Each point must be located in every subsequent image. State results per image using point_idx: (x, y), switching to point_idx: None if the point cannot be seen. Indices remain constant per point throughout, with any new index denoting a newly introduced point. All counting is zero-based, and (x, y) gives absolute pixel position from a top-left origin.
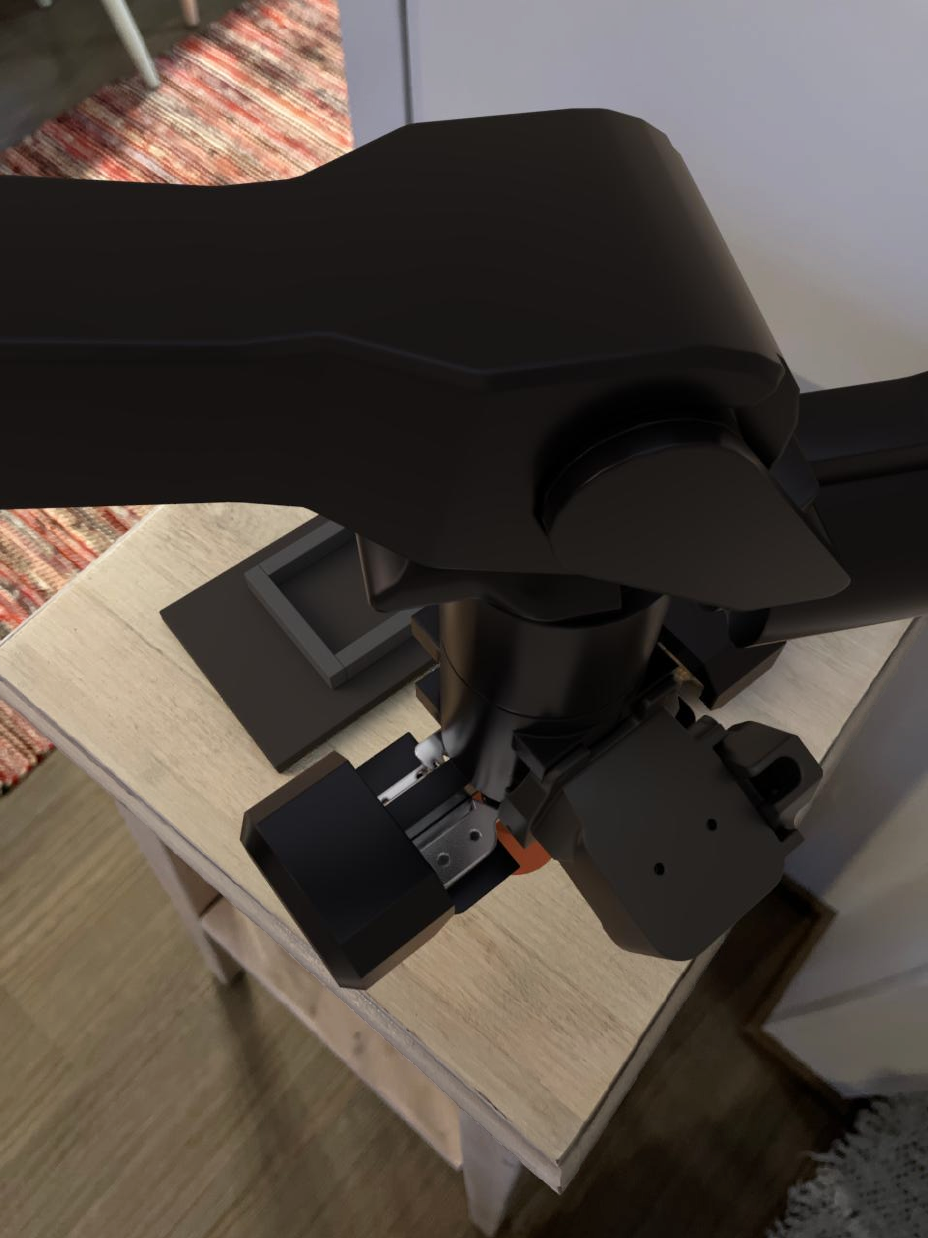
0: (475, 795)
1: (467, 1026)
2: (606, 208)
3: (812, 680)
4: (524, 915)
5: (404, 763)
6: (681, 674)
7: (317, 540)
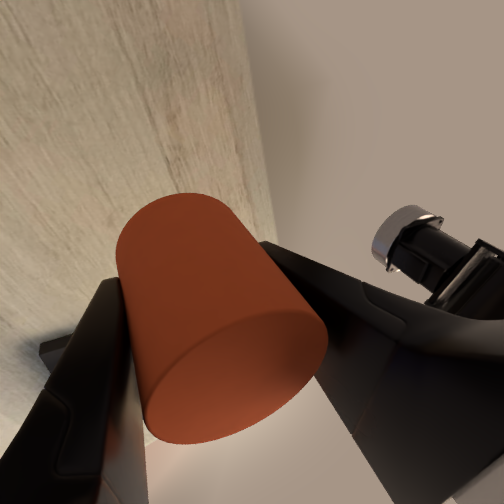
0: (309, 373)
1: (223, 71)
2: None
3: None
4: (128, 123)
5: (451, 497)
6: None
7: (142, 415)
